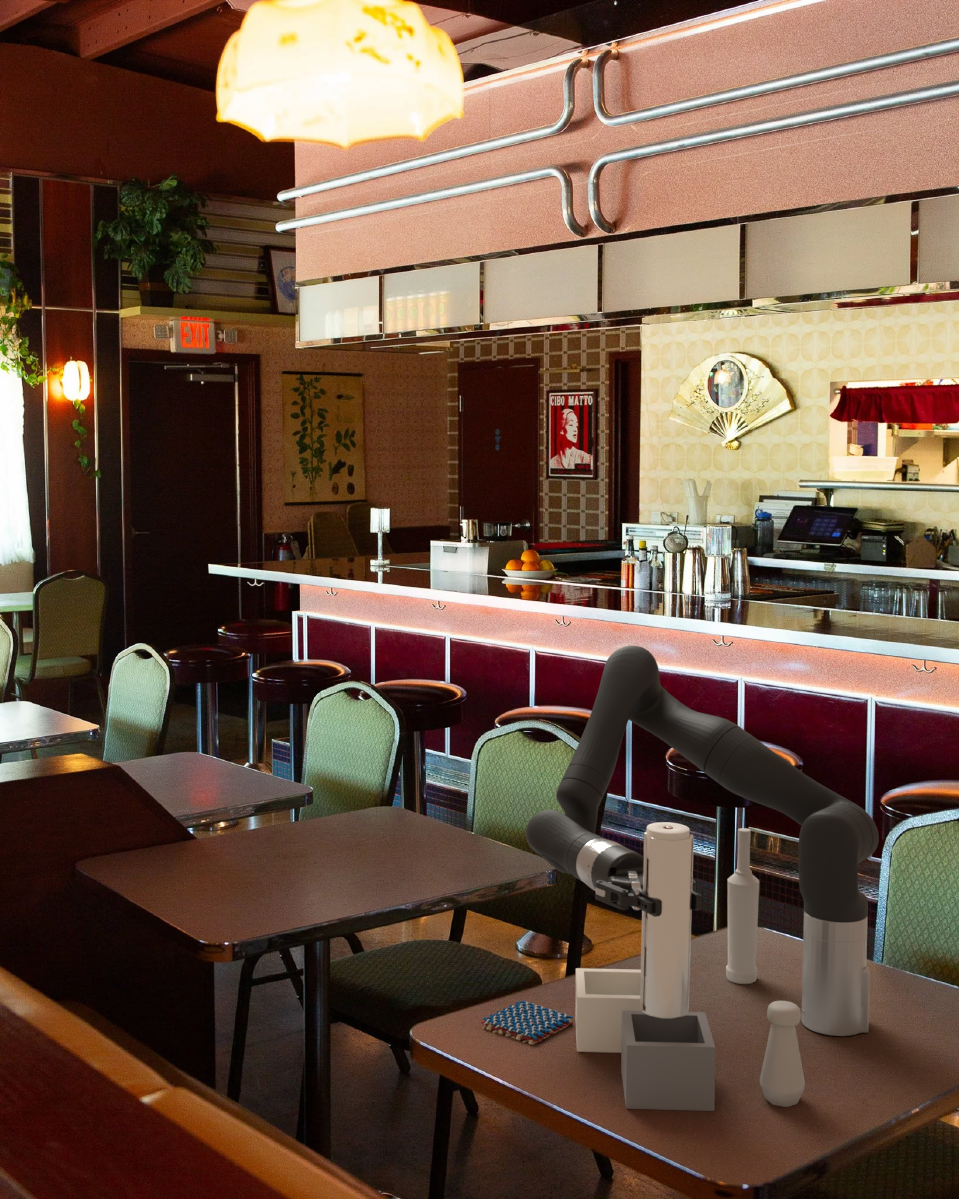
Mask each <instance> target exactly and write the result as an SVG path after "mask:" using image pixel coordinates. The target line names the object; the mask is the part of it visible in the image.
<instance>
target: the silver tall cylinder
mask: <svg viewBox="0 0 959 1199" xmlns="http://www.w3.org/2000/svg"><path fill="white" fill-rule="evenodd" d="M690 831H691V829H690V827H688V826H687V825H684V824H682V823H677V822H671V821H668V822H665V821H662V822H653V823H650V824H647V826H646V830H645V832H644V833H643V857H644V859H643V893H648V894H649V897H651V898H655V899H659V900H660V902H661V914H660V916H657V917H654V916H652V915H650V914H649V913H646V912H645V911H643V910H641V944H640V970H641V980H640V1009H641V1011H642V1012H643V1013H645V1014H646V1015H648V1016H651V1017H654V1018H659V1019H677V1018H681V1017H683V1016H685V1015H686V1014H688V1012H690V985H691V983H690V982H691V978H690V977H691V952H692V951H691V950H692V949H691V948H692V946H691V945H692V944H691V943H692V915H693V913H692V911H693V910H692V883H693V879H694V878H693V877H694V875H693V874H694V873H693V871H694V847H695V844H694V843H695V837H694V836H695V835H694V834H693V833H691V834H690Z"/></svg>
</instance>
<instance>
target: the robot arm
mask: <svg viewBox="0 0 959 1199" xmlns="http://www.w3.org/2000/svg"><path fill="white" fill-rule="evenodd" d="M659 669H660V668H659V666H658V663H657V660H656V658H655V657H654V655H653V654H652V653H651V652H650V651H649V650H648V649H646V648H644V647H643V646H638V645H626V646H623V647H620V648H618V649H616V650H615V651H614V652H613V653H611V654H610V656H609V657H608V659H607V660H606V662H605V664H604V668H603V670H602V675H601V679H600V684H599V687H598V690H597V691H598V692H597V694H596V698H595V699H594V700H595V701H594V703H593V707H592V710H591V712H590V714H589V715H590V716H589V718H588V719H587V723H586V726H585V728H584V730H583V733H582V735H581V737H580V740H579V742H578V744H577V747H576V749H575V751H574V753H573V755H572V758H571V760H570V762H569V764H568V765H567V768H566V770H565V771H564V772H565V773H564V774H563V776H562V778H561V781H560V782H559V785H558V787H557V790H556V794H555V797H556V800H557V802H558V804H559V806H560V807H561V809H562V810H563V812H564V813H562V812H561V811H559V810H557V809H556V810H555V809H544V810H541V811H539V812H537V813H536V814H534V815H533V816H532V817H531V818H530V819H529V821H528V822H527V825H526V829H525V838H526V841H527V842H526V843H527V844H528V845H529V847H530V848H531V850H533V851H534V852H535V853H536V854H537V855H539V856H540V857H541V858H542V859H544V860H545V861H546V862H547V863H548V864H549V865H551V867H553V868H554V869H556V870H557V871H558V872H560V873H563V874H570V875H571V876H572V877H574V878H575V879H578V881H581V882H583V883H584V884H585V885H586V886H587V887H589V888H590V889H591V890H593V891H595V900H597V901H599V902H602V903H603V904H606V905H609V906H611V907H613V908H616V909H618V910H619V911H627V910H628V909H629V907H631V908H632V909H633V910H634V911H640V910H641V911H642V910H643V911H645V912H646V913H649V914H650V915H652V916H654V917H657V916H660V914H661V902H660V900H659V899H655V898H651V897H649V894H648V893H643V859H644V855H642V854H640V853H638V852H637V851H634V850H632V849H630V848H629V847H626V846H624V845H622V844H620V843H618V842H616V841H613V840H609V839H606V838H605V837H602V836H600V835H598V834H597V833H596V829H597V828H596V827H597V820H598V813H599V807H600V805H601V802H602V800H603V798H604V796H605V794H606V791H607V789H608V787H609V785H610V782H611V781H612V777H613V775H614V773H615V772H614V771H615V768H616V766H617V761H618V758H619V755H620V754H619V753H620V750H621V746H622V741H623V737H624V735H625V731H626V728H627V726H628V723H629V721H630V722H632V723H633V724H635V725H637V726H639V727H640V728H642V729H644V730H645V731H647V732H649V733H651V734H652V735H654V736H655V737H657V738H659V739H660V740H661V741H663V742H664V743H666V744H667V745H668V746H669V747H671V748H672V749H673V750H674V751H676V752H677V754H678V753H679V755H681V756H682V757H683V758H685V759H687V760H688V761H690V763H691V764H693V765H695V766H696V767H697V768H698V769H699V770H700V771H701V772H703V773H704V774H706V775H707V776H708V777H710V778H711V779H712V780H714V781H715V782H717V783H718V784H719V785H720V786H722V787H723V788H725V789H726V790H728V791H729V792H731V793H732V794H735V795H737V796H740V797H742V798H743V799H746V800H748V801H751V802H753V803H757V804H759V805H761V806H765V807H768V808H770V809H772V810H776V811H777V812H780V813H782V814H783V815H785V816H787V817H789V818H790V819H792V820H793V821H795V822H796V823H797V824H799V825H800V826H801V827H800V831H799V835H798V836H799V837H798V885H799V891H800V894H801V895H800V896H801V897H802V899H803V935H802V936H803V937H802V938H803V939H802V940H803V942H802V972H801V974H802V975H801V977H802V978H801V980H802V981H801V1005H800V1006H801V1008H800V1012H801V1019H800V1021H801V1024H802V1025H803V1026H804V1027H806V1028H807V1029H808V1030H810V1031H812V1032H815V1033H818V1034H822V1035H827V1036H832V1037H833V1036H836V1037H838V1036H839V1037H846V1036H847V1037H849V1036H854V1035H857V1034H862V1033H869V1026H870V1025H869V1024H870V1023H869V1020H870V991H871V990H870V987H871V985H870V983H871V982H870V981H871V969H870V968H869V967H868V965H867V949H868V948H867V947H868V946H867V944H868V942H867V941H868V914H869V913H868V912H869V901H868V898H867V896H866V895H865V894H864V893H863V892H862V891H860V890H859V868H858V867H859V864H860V863H861V862H864V861H865V860H867V859H868V858H869V857H871V856H872V855H873V854H874V853H875V852H876V850H877V848H878V847H879V846H878V845H879V842H880V841H879V839H880V837H879V831H878V827H877V825H876V823H875V821H874V819H873V818H872V816H871V815H870V814H869V813H868V812H867V811H866V810H865V809H863V808H862V807H861V806H860V805H858V804H856V803H855V802H853V801H851V800H849V799H848V798H846V797H844V796H842V795H840V794H838V793H837V792H835V791H833V790H831V789H829V788H828V787H826V786H824V785H822V784H821V783H819V782H818V781H816V780H815V779H813V778H811V777H810V776H808V775H806V774H805V773H804V772H802V771H801V770H800V769H799V768H797V767H796V766H794V765H793V764H792V763H790V761H787V760H786V759H785V758H783V757H782V756H780V755H779V754H778V753H776V752H775V751H773V750H772V749H770V748H769V747H768V746H766V745H765V744H764V743H762V742H761V741H760V740H759V739H757V737H755V736H753V735H752V734H750V733H749V732H747V731H746V730H745V729H744V728H742V727H740V726H739V725H737V724H736V723H734V722H733V721H730V720H729V719H727V718H723V717H721V716H717V715H712V714H708V713H705V712H704V713H703V712H698V711H696V710H694V709H691V708H689V707H688V706H687V705H685V704H684V703H682V702H680V701H679V700H678V699H677V698H675V697H674V696H673V695H671V693H669V691H668V690H666V689H665V688H664V687H663V686H662V685H661V679H660V670H659ZM696 885H697V880H695V879H694V878H693V883H692V911H700V910H701V906H702V895H701V894H700V893H698V892H696Z"/></svg>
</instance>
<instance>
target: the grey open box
mask: <svg viewBox="0 0 959 1199" xmlns="http://www.w3.org/2000/svg"><path fill="white" fill-rule="evenodd" d="M620 1054H621V1056H620V1057H621V1058H620V1059H621V1060H620V1061H621V1062H620V1063H621V1064H620V1072H621V1078H622V1087H623V1096H624V1104H625V1109H626V1110H627V1109H629V1110H633V1109H634V1110H663V1111H664V1110H665V1111H667V1110H668V1111H699V1112H700V1111H702V1112H703V1111H705V1112H715V1108H716V1106H715V1102H716V1101H715V1100H716V1096H715V1094H716V1093H715V1092H716V1044H715V1040H714V1039H713V1034H712V1032H711V1028H710V1025H709V1021H708V1017H707V1014H706V1012H705V1011H689V1012H688V1014H686V1015H685V1016H683V1017H681V1018H677V1019H659V1018H654V1017H651V1016H648V1015H646V1014H645V1013H643V1012H642V1011H626V1010H622V1040H621V1053H620Z"/></svg>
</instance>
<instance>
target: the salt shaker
mask: <svg viewBox="0 0 959 1199" xmlns="http://www.w3.org/2000/svg"><path fill="white" fill-rule="evenodd" d="M801 1016H802V1011H801V1008H800V1007H799V1006H798V1005H797V1004H796V1003H794V1002H792V1001H788V1000H775V1001H771V1003H769V1005H768V1006H767V1010H766V1018H767V1020H768V1021H769V1023H770V1028H769V1029H770V1030H769V1033H768V1039H767V1043H766V1048H765V1053H764V1057H763V1062H762V1067H761V1071H760V1077H759V1085H760V1088H761V1090H762V1093H763V1096H764V1098H765V1100H766V1101H768V1102H769V1103H770V1104H771V1105H773V1106H776V1107H778V1106H779V1107H785V1108H788V1107H792V1106H795V1105H798V1104H799V1100H800V1099H801V1097H802V1095H803V1092H804V1090H805V1087H806V1086H805V1085H806V1081H805V1075H804V1070H803V1069H804V1068H803V1065H802V1063H803V1062H802V1057H801V1053H800V1048H799V1047H800V1046H799V1040H798V1036H797V1035H798V1034H797V1030H796V1029H797V1028H796V1026H798V1025H799V1024H800V1021H801Z"/></svg>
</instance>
